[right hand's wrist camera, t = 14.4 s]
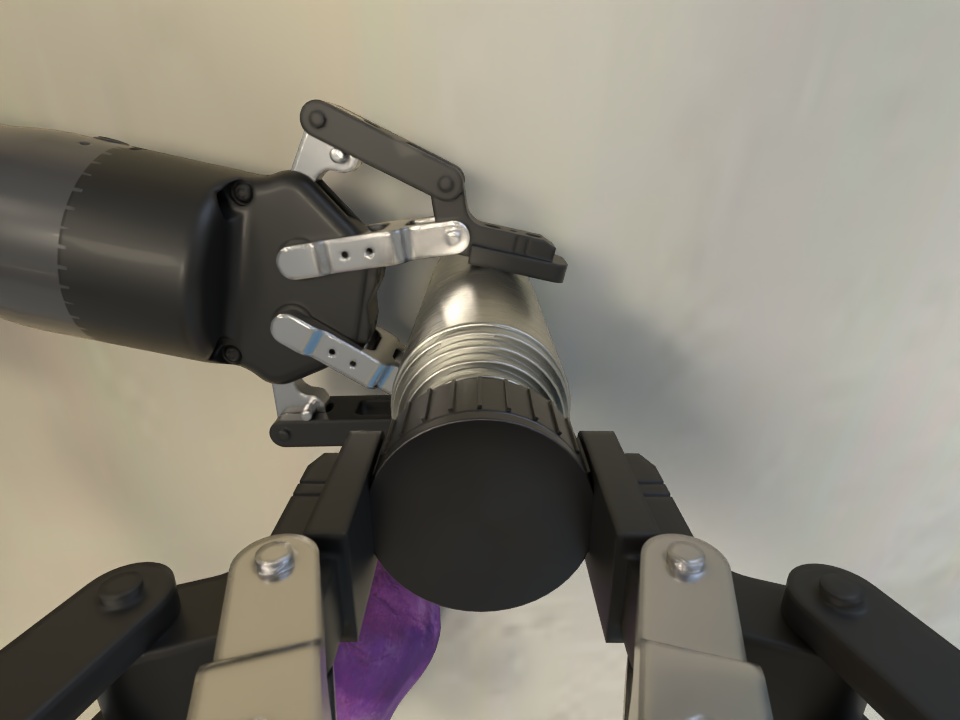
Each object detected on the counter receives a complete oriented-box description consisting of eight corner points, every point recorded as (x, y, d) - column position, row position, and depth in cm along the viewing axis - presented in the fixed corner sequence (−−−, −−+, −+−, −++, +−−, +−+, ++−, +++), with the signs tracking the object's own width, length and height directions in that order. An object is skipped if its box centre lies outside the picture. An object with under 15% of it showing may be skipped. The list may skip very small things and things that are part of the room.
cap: (589, 540, 13) (606, 602, 11) (398, 560, 13) (385, 625, 11) (576, 361, 11) (593, 401, 10) (359, 388, 12) (337, 431, 10)
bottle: (431, 331, 29) (362, 601, 12) (431, 236, 27) (349, 390, 10) (525, 334, 29) (591, 606, 12) (531, 239, 27) (619, 397, 10)
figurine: (362, 678, 38) (291, 993, 24) (269, 574, 35) (124, 865, 21) (483, 626, 36) (484, 931, 22) (397, 510, 33) (335, 782, 19)
